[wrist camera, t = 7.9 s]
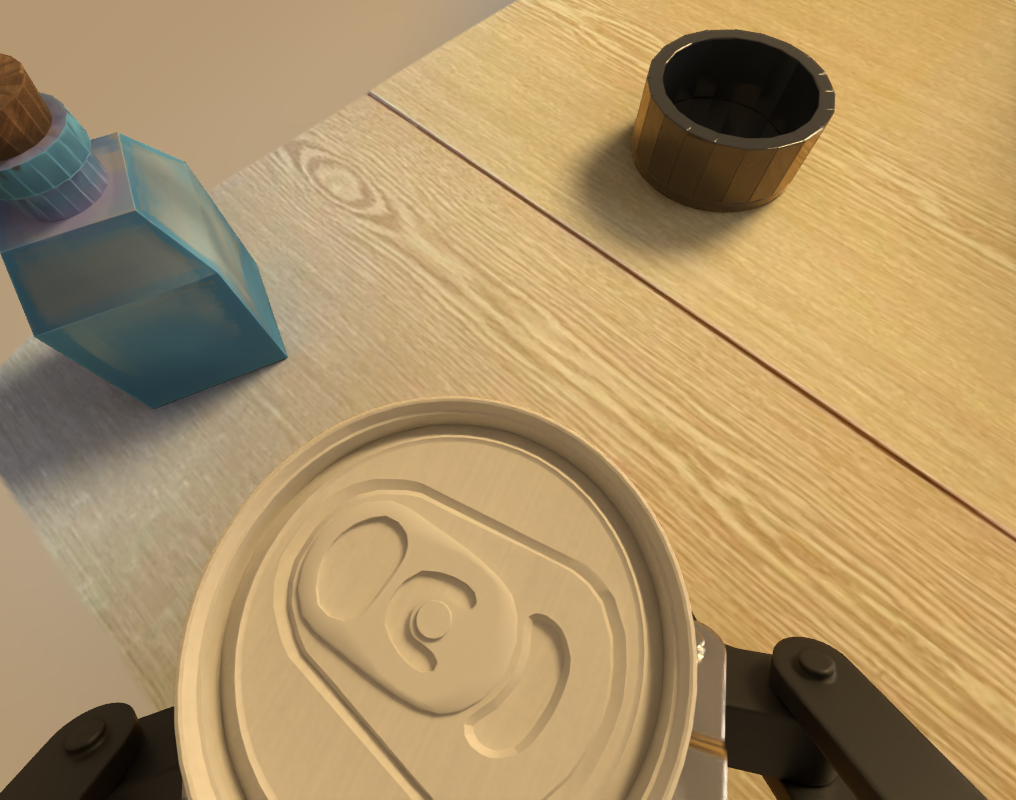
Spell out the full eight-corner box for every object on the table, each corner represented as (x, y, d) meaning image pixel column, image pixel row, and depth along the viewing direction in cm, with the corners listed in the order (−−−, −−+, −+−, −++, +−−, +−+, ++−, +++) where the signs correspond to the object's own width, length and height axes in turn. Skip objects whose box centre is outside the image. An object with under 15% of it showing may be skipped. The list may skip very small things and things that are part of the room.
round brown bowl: (755, 238, 27) (794, 177, 23) (601, 167, 29) (615, 100, 25) (818, 137, 30) (861, 68, 26) (675, 79, 32) (696, 9, 28)
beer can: (504, 768, 17) (533, 1307, 3) (366, 656, 18) (-12, 724, 5) (592, 607, 19) (824, 542, 6) (463, 518, 21) (395, 292, 7)
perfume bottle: (132, 305, 25) (-163, 55, 14) (255, 262, 26) (71, -1, 15) (153, 409, 23) (-182, 205, 12) (287, 357, 24) (97, 126, 13)
